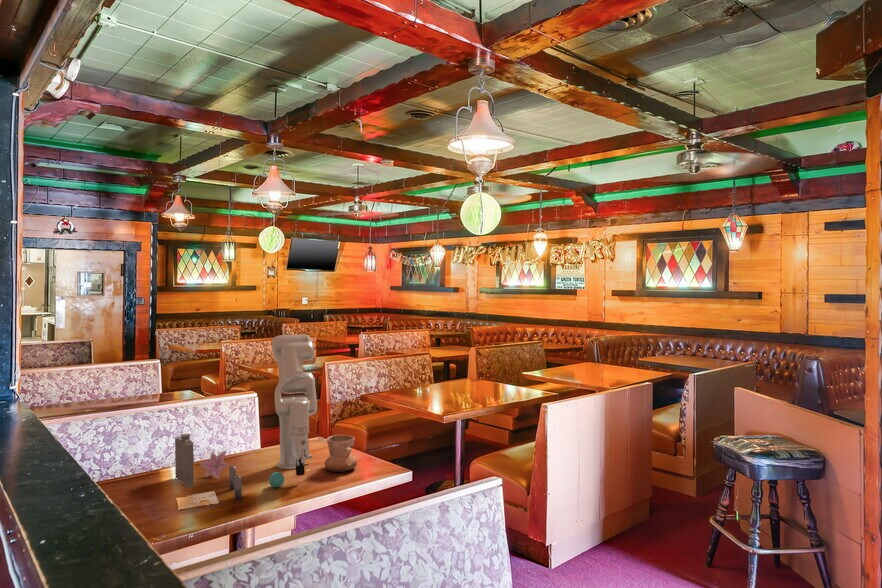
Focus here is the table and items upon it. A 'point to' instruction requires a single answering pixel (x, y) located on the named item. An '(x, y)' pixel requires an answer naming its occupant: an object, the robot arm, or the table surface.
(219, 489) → the table surface
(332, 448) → the ceramic jug
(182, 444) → the hip flask
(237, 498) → the post
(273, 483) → the ball
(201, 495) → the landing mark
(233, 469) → the post
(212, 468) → the lily
